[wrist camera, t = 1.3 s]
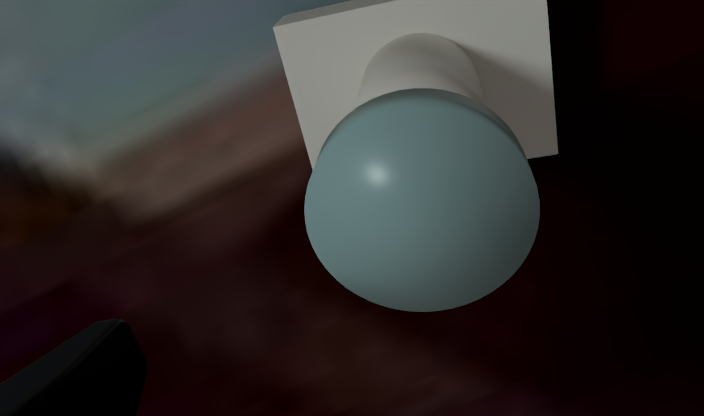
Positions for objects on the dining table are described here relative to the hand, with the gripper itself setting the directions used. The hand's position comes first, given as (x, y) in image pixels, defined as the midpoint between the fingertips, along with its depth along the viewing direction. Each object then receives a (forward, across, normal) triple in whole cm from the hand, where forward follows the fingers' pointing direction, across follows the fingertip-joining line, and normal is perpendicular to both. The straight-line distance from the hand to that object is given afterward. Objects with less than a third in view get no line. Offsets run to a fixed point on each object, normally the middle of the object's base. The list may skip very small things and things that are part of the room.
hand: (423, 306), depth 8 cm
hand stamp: (+12, 0, 0) cm, 12 cm away
